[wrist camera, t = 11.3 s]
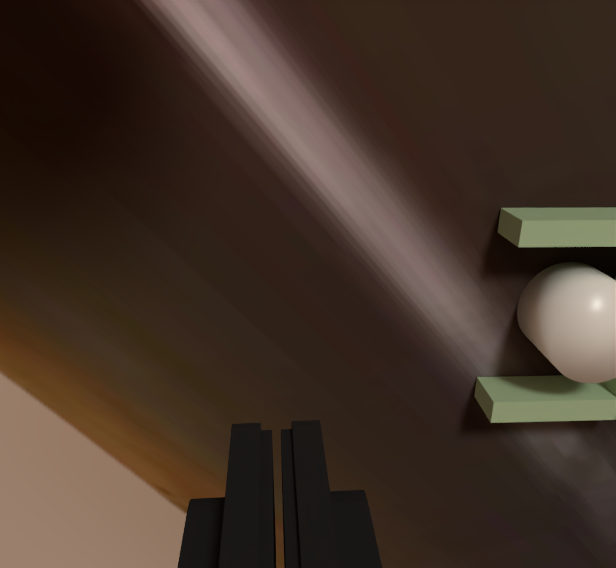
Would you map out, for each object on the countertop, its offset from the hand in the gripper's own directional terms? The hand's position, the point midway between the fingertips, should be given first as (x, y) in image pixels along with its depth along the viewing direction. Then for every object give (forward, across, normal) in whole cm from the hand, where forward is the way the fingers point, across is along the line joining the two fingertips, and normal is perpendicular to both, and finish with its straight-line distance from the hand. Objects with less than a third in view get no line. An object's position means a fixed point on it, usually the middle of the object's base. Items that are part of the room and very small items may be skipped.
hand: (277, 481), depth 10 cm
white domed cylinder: (+22, -18, +8) cm, 29 cm away
